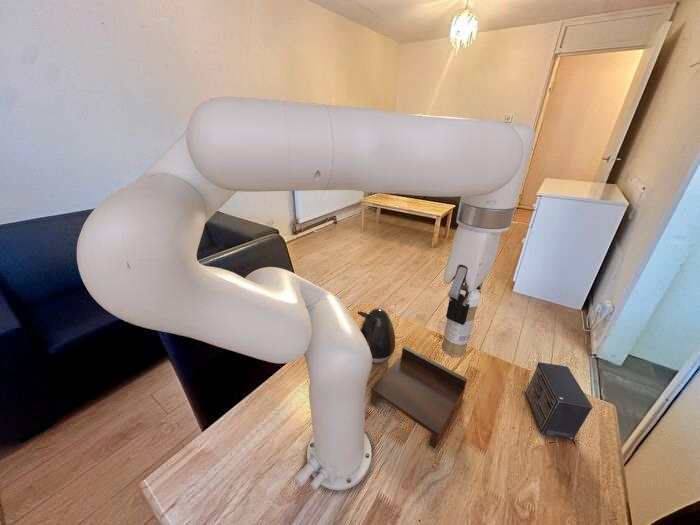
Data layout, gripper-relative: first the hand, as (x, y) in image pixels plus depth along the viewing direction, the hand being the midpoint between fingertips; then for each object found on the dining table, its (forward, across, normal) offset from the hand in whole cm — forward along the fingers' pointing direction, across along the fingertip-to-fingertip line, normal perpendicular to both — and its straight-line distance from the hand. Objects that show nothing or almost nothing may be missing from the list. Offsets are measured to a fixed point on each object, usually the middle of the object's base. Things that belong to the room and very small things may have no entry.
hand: (461, 312), depth 51 cm
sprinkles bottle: (+9, 0, 0) cm, 9 cm away
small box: (+28, -16, +18) cm, 37 cm away
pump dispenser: (+28, -6, -21) cm, 36 cm away
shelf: (+28, 0, -5) cm, 29 cm away
